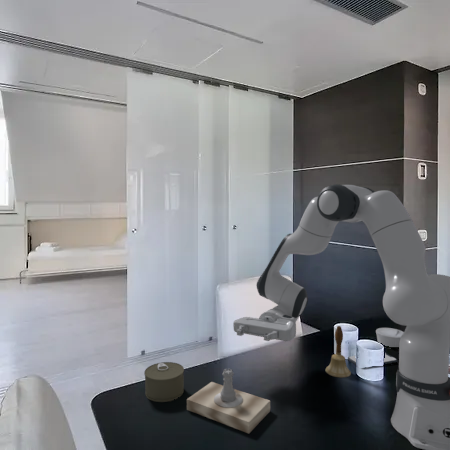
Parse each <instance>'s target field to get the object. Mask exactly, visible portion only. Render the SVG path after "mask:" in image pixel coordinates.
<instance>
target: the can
mask: <svg viewBox="0 0 450 450" xmlns="http://www.w3.org/2000/svg"><path fill="white" fill-rule="evenodd" d="M184 374H185V368H184V366H183V365H182V364H180V363H177V362H173V361H172V362H171V361H164V362H157V363H154V364H151V365H149V366H148V367H147V368H145V370H144V380H145V383H144V385H145V388H144V389H145V397H146V398H147V399H148V400H150V401H152V402H156V403H157V402H158V403H165V402H172V401H174V399H175V400H177V399H179V398H180V397H181V396H183V393H184V390H185V388H184V385H185V383H184V381H185V379H184V376H185V375H184ZM178 397H179V398H178Z"/></svg>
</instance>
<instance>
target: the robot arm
mask: <svg viewBox="0 0 450 450" xmlns="http://www.w3.org/2000/svg"><path fill="white" fill-rule="evenodd" d="M410 215H411V214H410V213H409V211H408V210H407V208H406V207H405V205H404V204H403V203H402V201H401V200H400V198H399V197H397V195H396V194H395V193H394V192H393V191H392V190H391V191H390V190H387V189H386V190H383V189H382V190H377V191H375V190H373V189H372V188H369V187H364V186H358V185H354V184H338V183H337V184H332V185H331V184H330V185H329V186H326V187H324V188H323V189H322V190H321V191H320V192H319V194H318V196H314V197H313V198H312V199H311V200H310V201H309V203H308V204H307V206H306V208H305V210H304V212H303V215H302V217H301V219H300V222H299V224H298V226H297V228H296V229H295V230H294V232H292V233H288V234H286V235H285V236H284V237H283V239H282V240H281V241H280V243H279V244H278V247H277V248H276V249H275V251H274V253H273V255H272V257H271V258H270V260H269V262H268V264H267V265H266V268H265V269H264V271H263V272H262V273H261V275H260V277H259V278H258V279H257V281H256V289H257V292H258V295H259V296H261V297H263V298H264V299H267V300H269V301H271V302H273V303H274V304H276V305H275V306H274V307H272V308H270V309H268V310H265V311H263V312H262V313H261V314H260V316H259V318H257V317H251V316H244V317H240V318H238V319H235V320H234V321H233V331H234V333H236V336H239V337H242V336H244V335H250V336H255V337H260V338H263V341H266V342H270V341H272V340H277V341H282V342H291V341H293V340H294V338H296V337H297V336H296V335H297V321H298V319H299V317H301V316H302V315H303V313H304V311H305V309H306V308H307V305H308V301H309V296H308V292H307V289H306V288H305V287H303V286H301V285H299V284H298V283H296V282H294V281H292V280H290V279H288V278H287V277H284V276H283V275H281V273H280V271H281V270H282V267H283V266H284V264H285V262H286V260H287V258H288V256H290V255H304V256H314V255H318V254H321V253H322V252H325V250H326V249H327V247H328V246H329V244H330V242H331V239H332V237H333V234H334V232H335V229H336V226H337V225H338V224H339V223H340V222H345V223H359V222H360V223H361V222H362V223H364V225H365V226H366V228H367V230H368V233H369V235H370V238H371V239H372V241H373V243H374V246H375V248H376V250H377V253H378V255H379V258H380V260H381V263H382V267H383V272H384V278H385V280H384V281H385V292H384V293H383V296H382V306H383V310H384V312H385V313H386V316H387V317H388V318H389V319H390V320H391V321H392V322H393V323H395V324H398V325H400V326H406V327H405V329H404V331H403V332H404V333H403V335H402V336H401V338H400V343H399V349H398V353H399V354H398V359H399V360H398V367H397V370H396V373H395V375H396V378H395V380H396V381H395V386H396V387H395V388H396V394H397V395H396V401H395V405H394V408H393V412H392V415H391V418H390V424H391V425H392V427H393V428H394V429H395V430H396V431H397V433H399V434H401V436H403V437H405V438H406V439H407V440H408V441H409V442H410V444H411V445H412V446H414V447H415V448H417V449H422V450H450V376H449V369H450V368H449V365H450V276H448V275H444V274H439V273H438V274H437V273H431V274H428V271H427V270H428V269H427V266H426V259H425V255H426V252H427V250H426V249H427V248H426V244H425V242H424V241H423V239H422V237H421V235H420V233H419V231H418V228H417V226H416V225H415V223H414V221H413V219H412V217H411V216H410Z"/></svg>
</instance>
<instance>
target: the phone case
mask: <svg viewBox="0 0 450 450" xmlns="http://www.w3.org/2000/svg"><path fill="white" fill-rule="evenodd" d="M355 356H356V355H352V356H351V355H350V356H348V357H347V361H348V362H350V363H351V364H353V365H354V366H356V358H355ZM392 362H397V363H398V359H397V358H396V357H394V356H392V355H390V354H388V353H386V352H385V358H384V363H385V364H387V363H392Z"/></svg>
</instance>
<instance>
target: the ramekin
mask: <svg viewBox="0 0 450 450" xmlns="http://www.w3.org/2000/svg"><path fill="white" fill-rule="evenodd" d="M375 333H376V339H377V343H378V342H379V343H382V344H383V345H385V346H389V347H399V343H400V338H401V336H402V335H403V333H404V331H402V330H401V329H397V328H391V327H379V328H376V330H375ZM379 343H378V344H379Z"/></svg>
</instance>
